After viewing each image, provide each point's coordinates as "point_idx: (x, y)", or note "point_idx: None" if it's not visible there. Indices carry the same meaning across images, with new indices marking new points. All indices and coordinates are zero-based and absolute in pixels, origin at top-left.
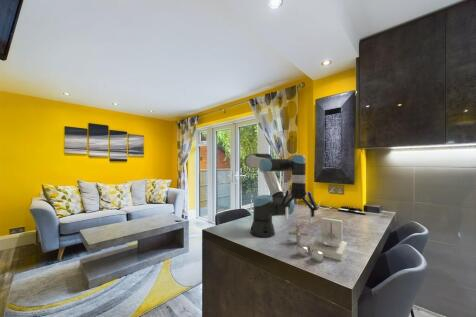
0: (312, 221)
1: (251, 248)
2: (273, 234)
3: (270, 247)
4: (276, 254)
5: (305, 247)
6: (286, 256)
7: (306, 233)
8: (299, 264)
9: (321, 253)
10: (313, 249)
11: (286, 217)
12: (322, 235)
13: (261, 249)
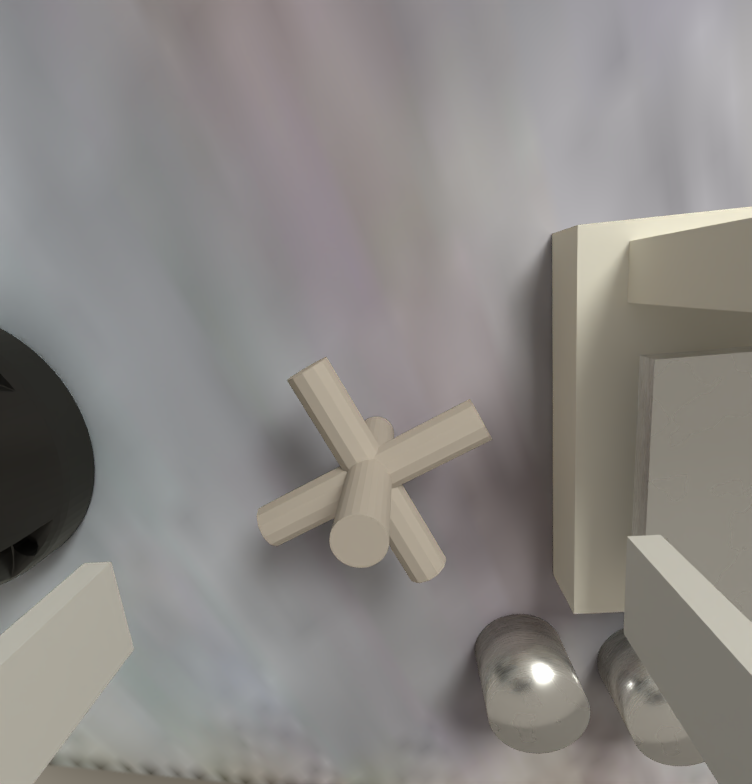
0: (672, 546)
1: (164, 769)
2: (80, 441)
3: (251, 678)
4: (356, 747)
5: (565, 711)
6: (428, 734)
7: (475, 445)
8: (550, 778)
9: None
10: (643, 711)
11: (107, 682)
12: (706, 413)
13: (226, 743)
